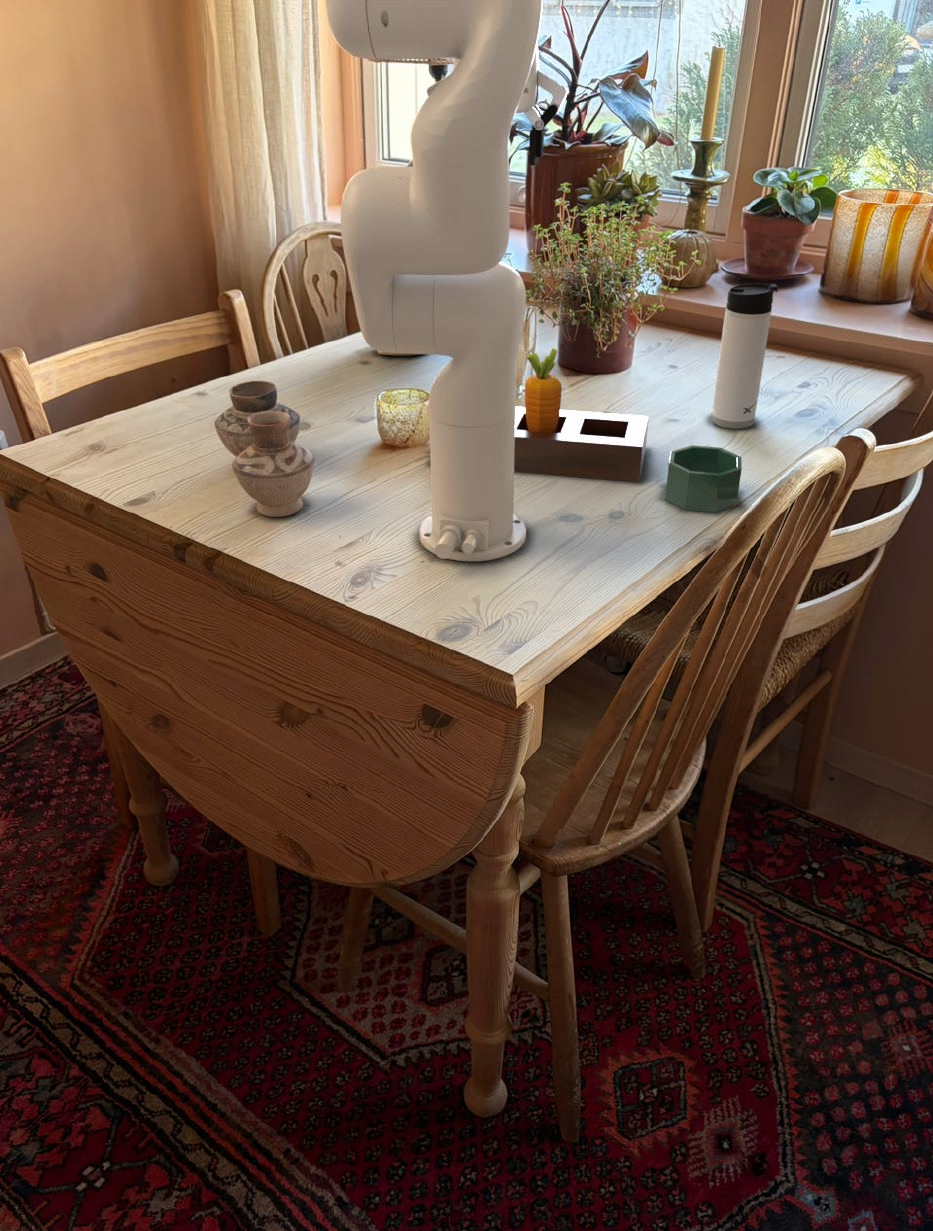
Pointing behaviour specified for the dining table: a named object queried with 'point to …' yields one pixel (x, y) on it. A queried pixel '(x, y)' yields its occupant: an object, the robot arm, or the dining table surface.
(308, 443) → the dining table surface
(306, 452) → the pottery
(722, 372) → the travel mug
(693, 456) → the holder
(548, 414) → the carrot
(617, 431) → the rack
